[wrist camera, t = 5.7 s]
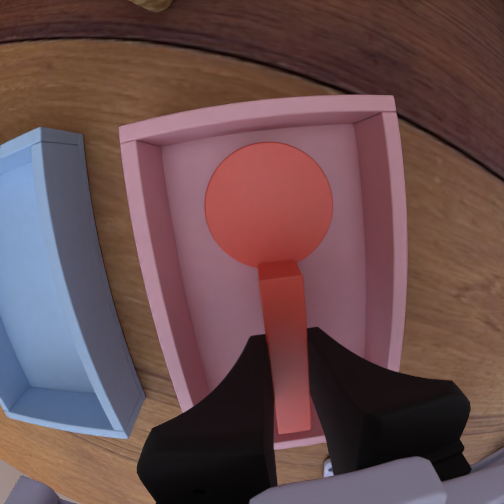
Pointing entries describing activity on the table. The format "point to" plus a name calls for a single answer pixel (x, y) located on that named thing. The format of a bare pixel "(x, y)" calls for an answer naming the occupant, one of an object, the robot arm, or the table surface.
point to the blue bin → (58, 296)
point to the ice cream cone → (153, 4)
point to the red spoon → (274, 252)
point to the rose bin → (246, 278)
